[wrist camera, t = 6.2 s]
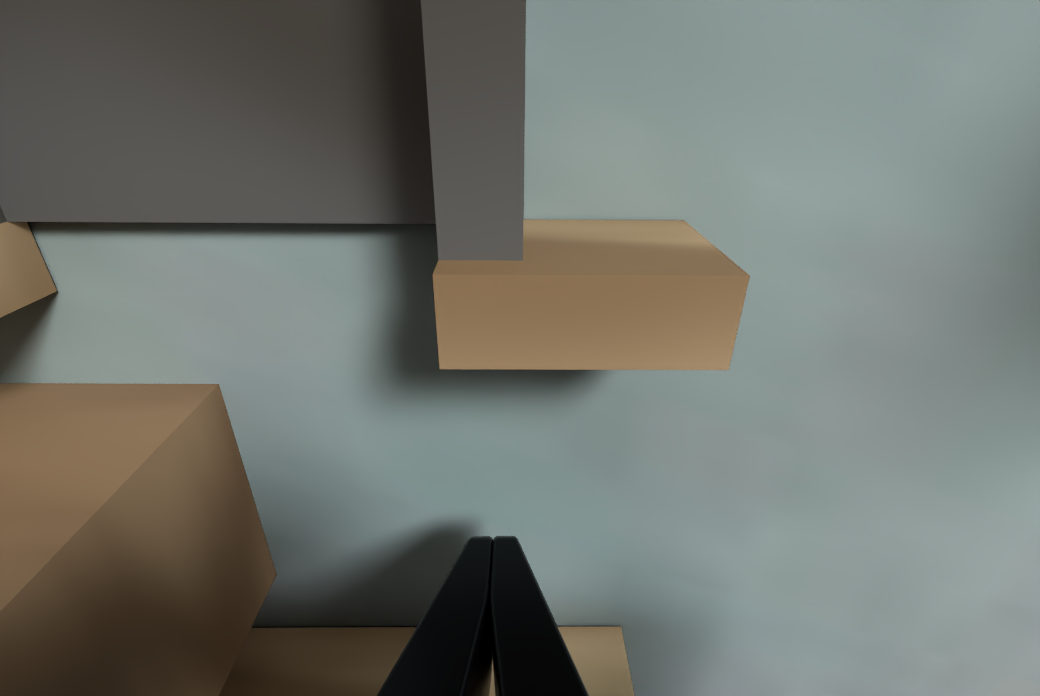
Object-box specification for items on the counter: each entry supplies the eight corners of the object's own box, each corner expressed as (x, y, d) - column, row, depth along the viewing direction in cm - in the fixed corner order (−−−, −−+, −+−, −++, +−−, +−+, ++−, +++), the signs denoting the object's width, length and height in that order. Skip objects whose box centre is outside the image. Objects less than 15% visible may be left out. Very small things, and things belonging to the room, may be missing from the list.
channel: (616, 656, 13) (637, 775, 11) (-35, 659, 13) (-149, 780, 11) (803, -553, 5) (1065, -1120, 2) (-1049, -596, 4) (-2578, -1255, 2)
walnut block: (278, 571, 12) (134, 873, 7) (53, 571, 12) (-232, 878, 7) (221, 382, 9) (-43, 656, 5) (-61, 380, 9) (-584, 658, 5)
